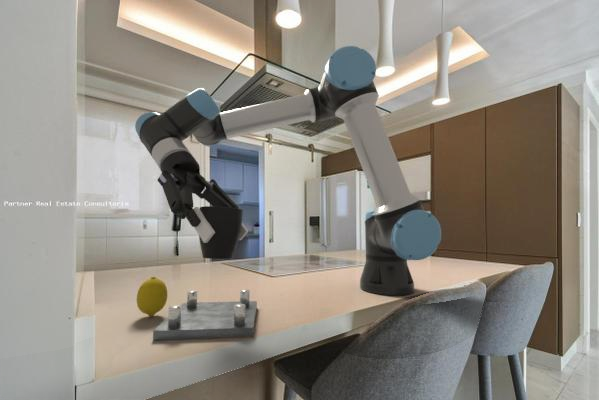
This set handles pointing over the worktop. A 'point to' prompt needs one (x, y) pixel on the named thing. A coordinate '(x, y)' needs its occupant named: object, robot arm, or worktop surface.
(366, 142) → the robot arm
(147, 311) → the lemon
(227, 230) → the mug
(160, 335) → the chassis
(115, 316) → the worktop surface
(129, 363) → the worktop surface
